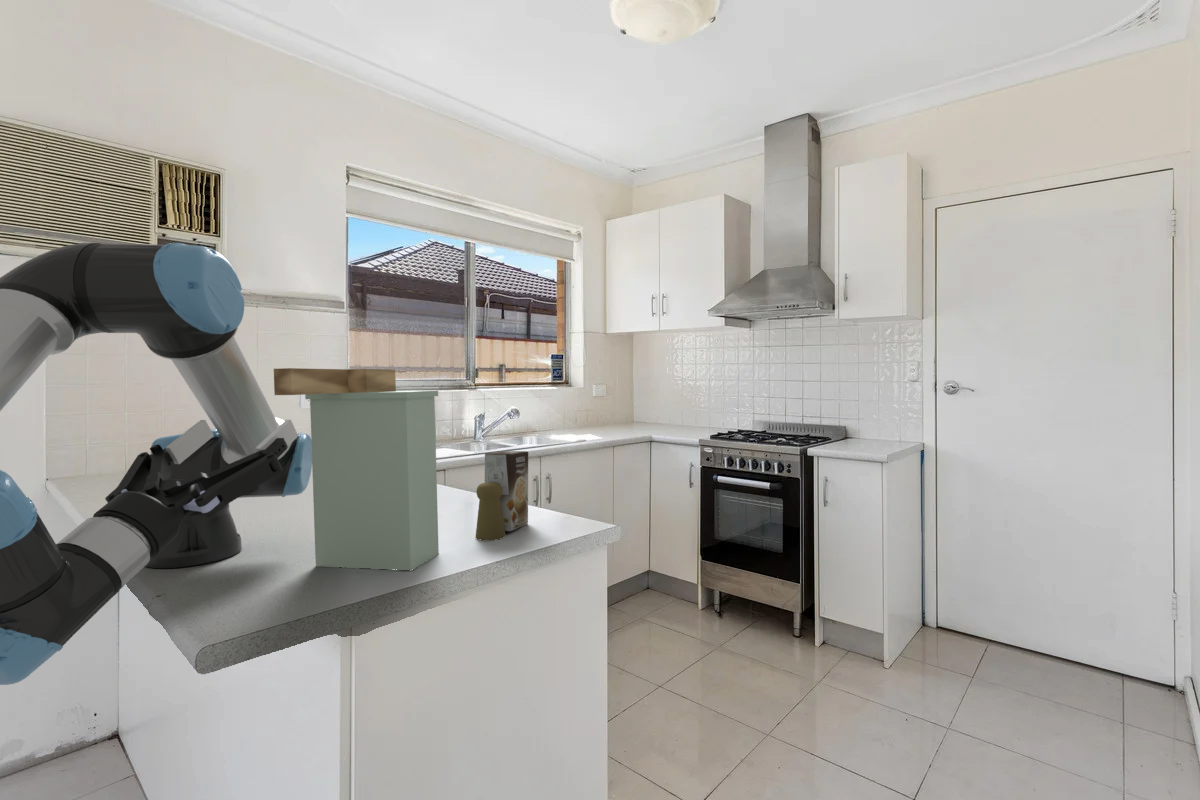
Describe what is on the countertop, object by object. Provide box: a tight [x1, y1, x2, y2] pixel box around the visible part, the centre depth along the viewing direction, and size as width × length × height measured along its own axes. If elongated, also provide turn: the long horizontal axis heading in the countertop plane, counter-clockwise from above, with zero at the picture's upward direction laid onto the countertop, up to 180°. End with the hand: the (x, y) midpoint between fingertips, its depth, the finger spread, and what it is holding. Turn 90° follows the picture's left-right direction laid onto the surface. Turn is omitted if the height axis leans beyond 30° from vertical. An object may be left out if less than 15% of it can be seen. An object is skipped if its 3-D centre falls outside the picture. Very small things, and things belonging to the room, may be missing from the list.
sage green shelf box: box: [304, 390, 440, 571], centre depth 105 cm, size 19×11×30 cm, turn 79°
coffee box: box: [484, 450, 529, 532], centre depth 127 cm, size 9×6×16 cm
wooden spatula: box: [273, 367, 397, 396], centre depth 100 cm, size 10×22×4 cm, turn 167°
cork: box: [475, 482, 506, 541], centre depth 120 cm, size 6×6×11 cm
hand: (249, 427), depth 82 cm, fingers open, 13 cm apart
